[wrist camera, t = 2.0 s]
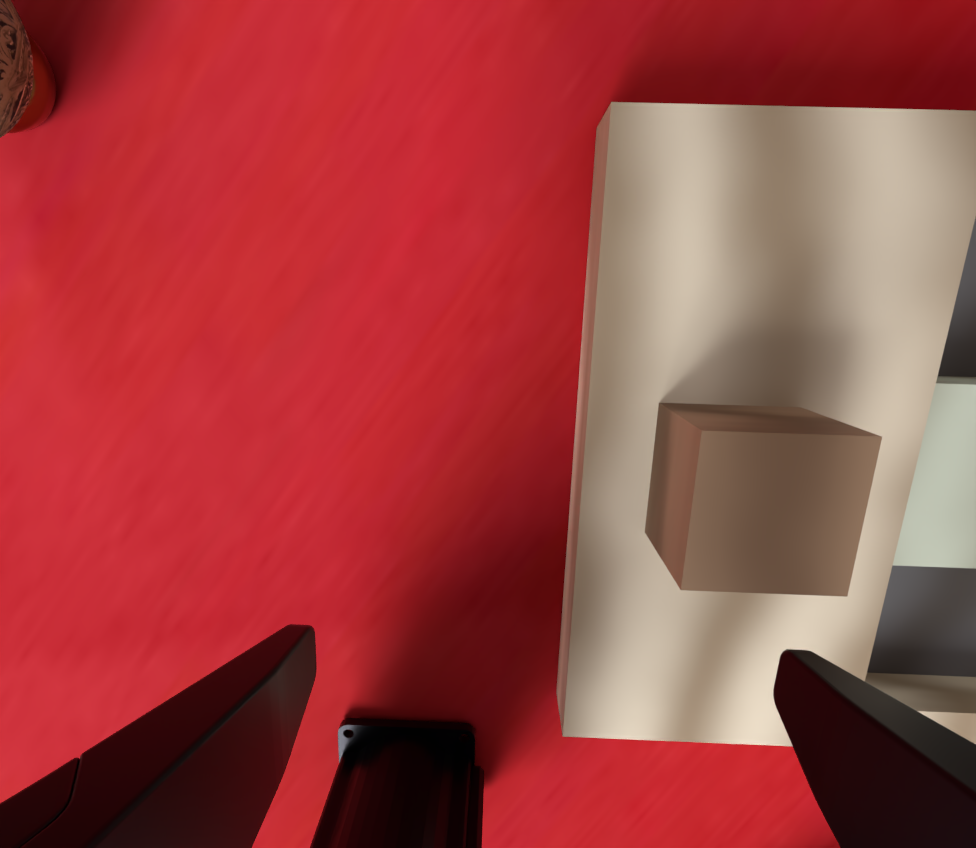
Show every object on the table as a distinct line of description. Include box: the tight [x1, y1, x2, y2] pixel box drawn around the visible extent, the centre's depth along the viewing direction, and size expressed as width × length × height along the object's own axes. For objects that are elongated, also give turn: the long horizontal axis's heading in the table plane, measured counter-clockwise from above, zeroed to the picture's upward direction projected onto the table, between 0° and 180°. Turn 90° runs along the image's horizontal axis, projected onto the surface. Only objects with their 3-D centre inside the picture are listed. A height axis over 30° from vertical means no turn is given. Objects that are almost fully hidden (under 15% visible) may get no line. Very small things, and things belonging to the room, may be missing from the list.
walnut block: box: [645, 403, 882, 597], centre depth 17 cm, size 5×5×4 cm
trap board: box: [556, 102, 976, 746], centre depth 18 cm, size 23×24×6 cm
